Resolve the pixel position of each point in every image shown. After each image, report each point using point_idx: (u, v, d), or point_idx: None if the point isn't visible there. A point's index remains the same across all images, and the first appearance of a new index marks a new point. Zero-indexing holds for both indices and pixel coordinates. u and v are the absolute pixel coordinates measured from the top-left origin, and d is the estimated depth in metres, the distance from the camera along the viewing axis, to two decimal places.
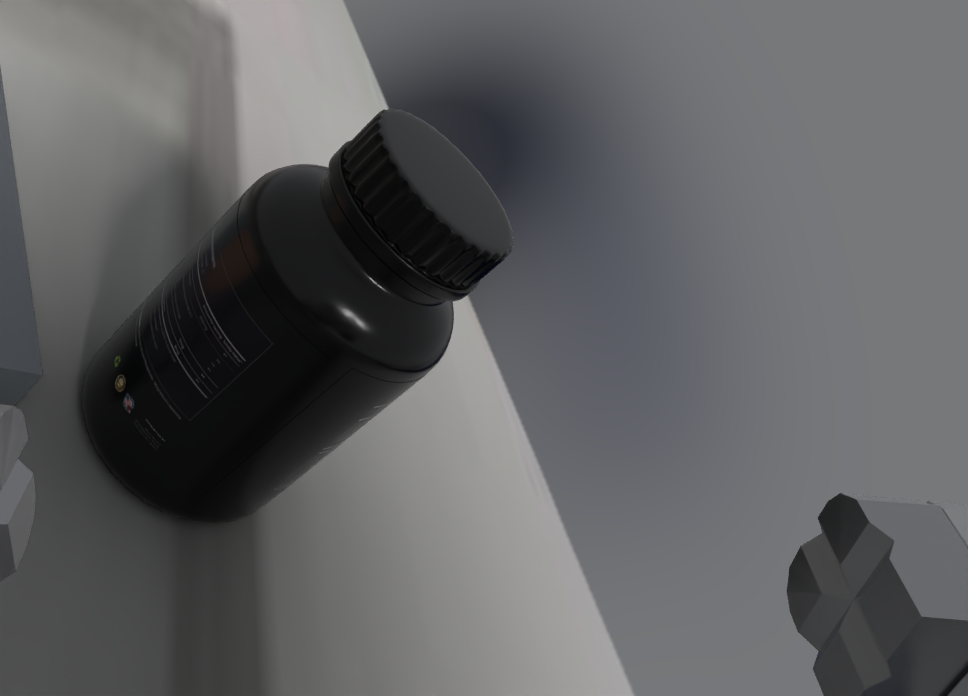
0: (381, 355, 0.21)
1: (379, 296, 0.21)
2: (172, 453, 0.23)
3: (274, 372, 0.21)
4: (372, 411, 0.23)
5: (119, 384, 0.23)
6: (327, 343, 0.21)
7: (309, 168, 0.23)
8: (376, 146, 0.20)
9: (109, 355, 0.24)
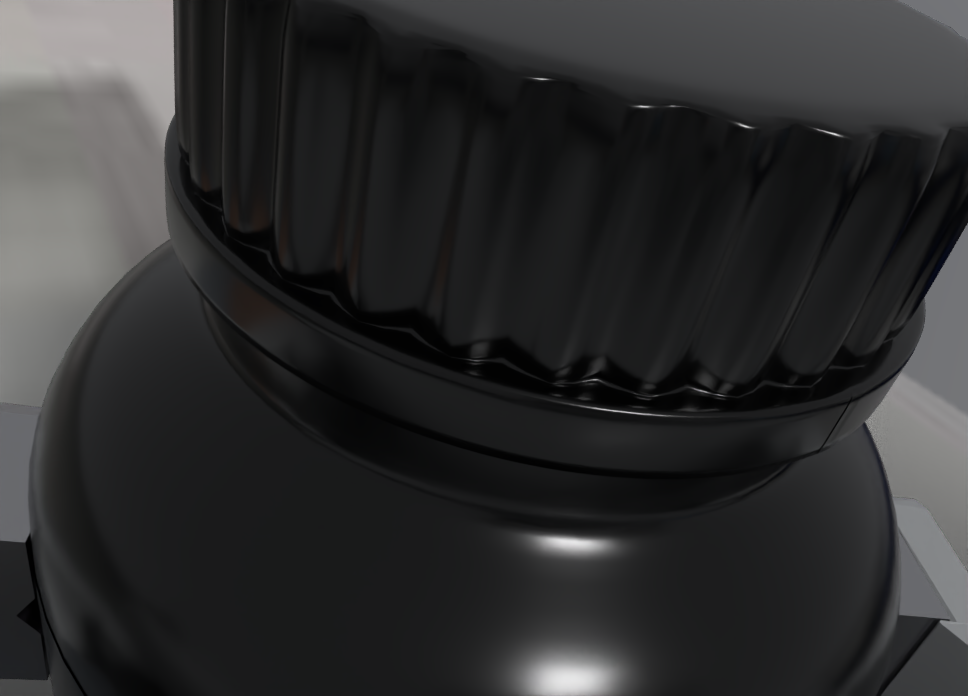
0: None
1: (646, 571, 0.05)
2: None
3: None
4: None
5: None
6: None
7: (171, 248, 0.07)
8: (227, 0, 0.04)
9: None
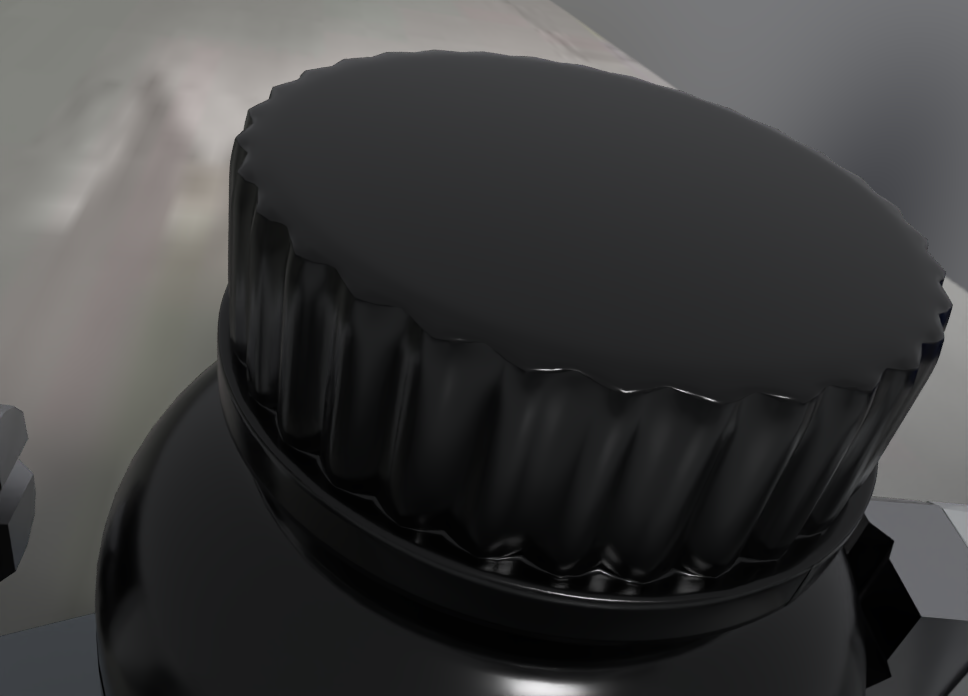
0: None
1: None
2: None
3: None
4: None
5: None
6: None
7: (211, 389, 0.08)
8: (283, 272, 0.05)
9: None
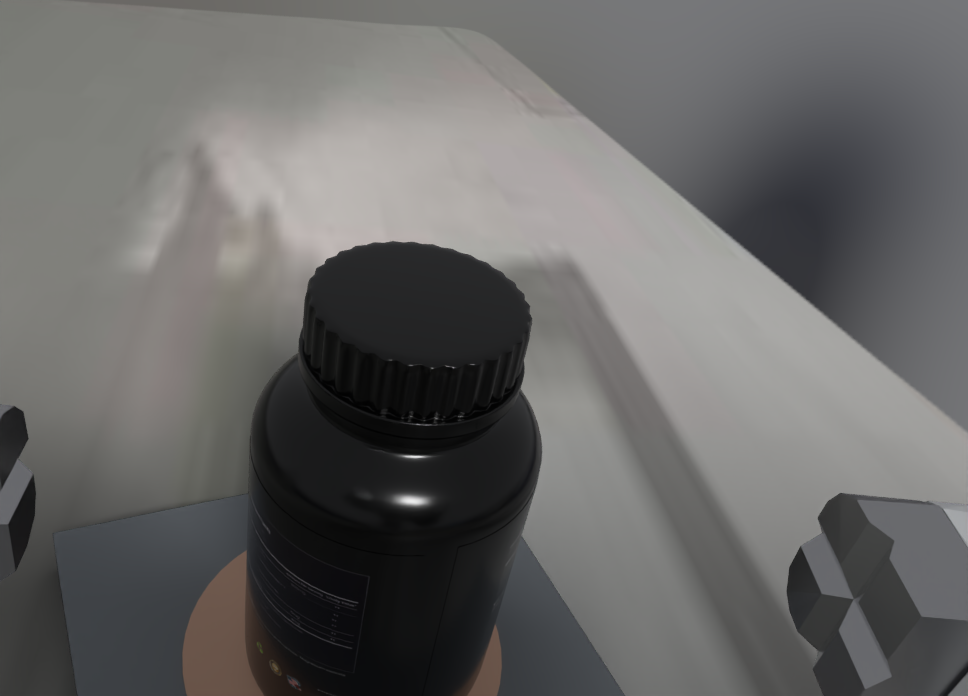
0: (477, 517, 0.18)
1: (433, 464, 0.18)
2: None
3: (391, 596, 0.19)
4: (511, 549, 0.20)
5: (275, 668, 0.22)
6: (417, 546, 0.18)
7: (290, 370, 0.20)
8: (323, 334, 0.17)
9: (251, 641, 0.22)
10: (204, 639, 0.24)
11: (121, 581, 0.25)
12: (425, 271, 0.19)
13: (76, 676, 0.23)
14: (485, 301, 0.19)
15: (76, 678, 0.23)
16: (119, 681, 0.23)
